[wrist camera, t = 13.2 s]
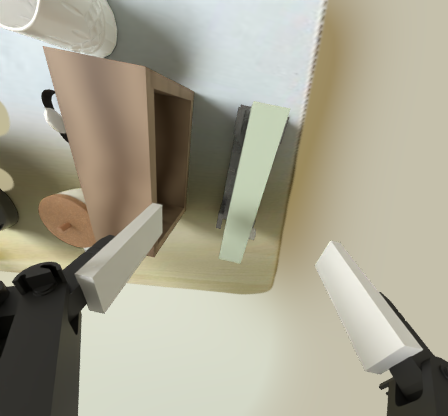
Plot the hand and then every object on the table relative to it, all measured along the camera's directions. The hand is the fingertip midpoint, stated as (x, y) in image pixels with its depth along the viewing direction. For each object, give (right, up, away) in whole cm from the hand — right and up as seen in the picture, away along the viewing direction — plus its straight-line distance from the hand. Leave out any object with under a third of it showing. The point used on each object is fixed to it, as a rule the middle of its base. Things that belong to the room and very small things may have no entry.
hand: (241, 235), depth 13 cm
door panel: (+2, +8, +14) cm, 17 cm away
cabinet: (-11, +11, +16) cm, 22 cm away
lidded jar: (-27, +3, +22) cm, 35 cm away
